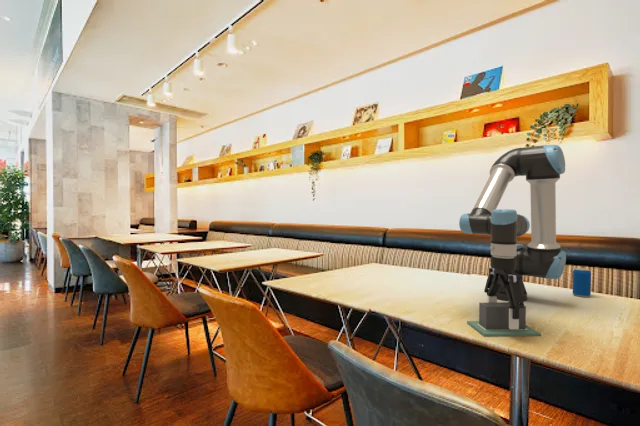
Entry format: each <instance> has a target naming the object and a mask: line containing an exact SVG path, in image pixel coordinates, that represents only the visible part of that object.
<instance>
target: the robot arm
mask: <svg viewBox="0 0 640 426" xmlns="http://www.w3.org/2000/svg"><path fill="white" fill-rule="evenodd" d="M565 172H566V160H565V155H564V152H563V150H562V148H561V147H560V146H559V145H558V144H542V145H535V146H525V147H516V148H512V149H510V150H508V151H507V152H505V153H503V154H502V155H501V156H500V157H498V159H496V160H495V161H494V163H493V164H492V166H491V168H490V169H489V177H488V179H487V181H486V183H485V185H484V187H483V188H482V191H481V192H480V195H479V197H478V198H477V200H476V202H475V204H474V205H473V208H472V210H471V211H470V213H463V214H461V216H460V217H459V224H458V225H459V226H458V227H459V229H460V231H461V232H462V233H464V234H470V235H484V236H485V235H487V236H490V246H489V249H490V255H491V257H490V260H489V261H490V267H489V268H488V276H487V279H486V281H485V287H484V294H485V293H486V296H487V303H493V302H498V300H503V301H508V302H509V303H510V307H509V329H519V309H520V308H524V306H525V303H524V301H526V300H528V292H527V289H526V287H525V282H524V276H528V277H533V278H534V277H535V278H539V279H540V278H542V279H546V280H548V279H551V280H558V279H560V278H561V277H562V275H563V274H564V270H565V266H566V262H567V253H566V251H564V250H561V245H560V244H559V242H557V221H556V220H557V215H556V214H557V212H556V209H557V208H556V207H557V206H556V205H557V204H556V183H557V182H558V181H559V180H560V178H561V175H562V174H564V173H565ZM524 176H525V181H526V182H528V184H529V185H530V186H529V187H530V221H529V219H528V218H527V217H526V216H525V215H522V214H520V213H518V212H517V210H516V209H509V208H506V209H504V208H503V209H501V208H500V209H499V208H498V206H499V204H500V202H501V199H502V198H503V196H504V194H505V191H506V190H507V187H508V185H509V183H510V182H512V181H513V180H514V178H515V177H524ZM529 230H530V231H531V232H530V236H531V241H530V242H529V243H528V244H527V245H526V247H524V244H523V243H521V244H520V243H517V239H518V238H517V237H522V236H523V235H525V234H527V232H529Z"/></svg>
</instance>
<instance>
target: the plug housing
mask: <svg viewBox="0 0 640 426" xmlns="http://www.w3.org/2000/svg"><path fill="white" fill-rule="evenodd" d="M478 305H479V306H478V307H479V308H478V321H479V325H480V326H482V327H483V328H484V329H486V330H510V329H509V307H510V303H509V301H508V302H498V301H497V302H493V303H488V302H479V304H478ZM526 315H527V307H526V305H524V308H520V309H519V329H526V318H527V316H526Z"/></svg>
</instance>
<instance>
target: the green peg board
mask: <svg viewBox="0 0 640 426" xmlns="http://www.w3.org/2000/svg"><path fill="white" fill-rule="evenodd" d="M466 324H467V325H469V326H470V327H471V328H473V330H475V331H476V332H477V333H479V334H480V335H481V336H482V337H542V333H541V332H540V331H538V330H536V329H534V328H533V327H530V326H529V325H526V329H510V330H486V329H484V328H483V327H482V326H480V325H479V320H467V321H466Z"/></svg>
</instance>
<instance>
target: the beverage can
mask: <svg viewBox="0 0 640 426" xmlns="http://www.w3.org/2000/svg"><path fill="white" fill-rule="evenodd" d="M573 269H574V270H572V294H573V295H574V296H575V297H578V296H579V297H578V298H589V297H590V296H591V291H592V287H591V286H592V285H591V284H592V283H591V282H592V273H591V270H590V269H589V268H583V267H581V268H580V267H575V268H573Z"/></svg>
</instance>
